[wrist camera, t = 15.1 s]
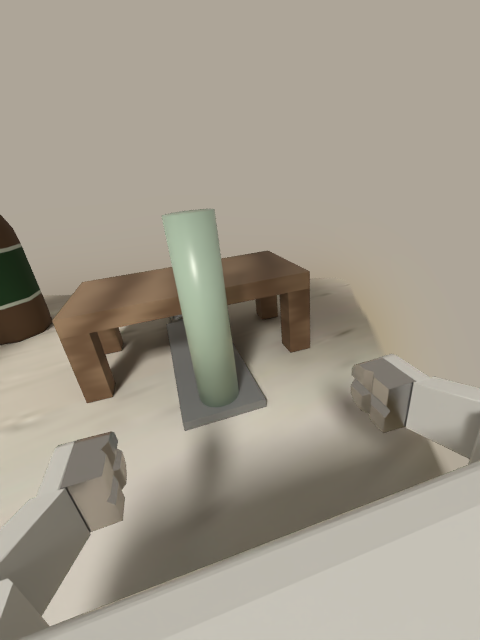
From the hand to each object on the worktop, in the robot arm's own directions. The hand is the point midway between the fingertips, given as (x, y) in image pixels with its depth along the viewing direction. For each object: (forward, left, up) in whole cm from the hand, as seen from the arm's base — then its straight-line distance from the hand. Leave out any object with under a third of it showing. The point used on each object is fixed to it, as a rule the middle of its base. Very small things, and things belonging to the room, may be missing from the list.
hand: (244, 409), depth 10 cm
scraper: (0, +17, -8) cm, 19 cm away
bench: (0, +19, -8) cm, 21 cm away
